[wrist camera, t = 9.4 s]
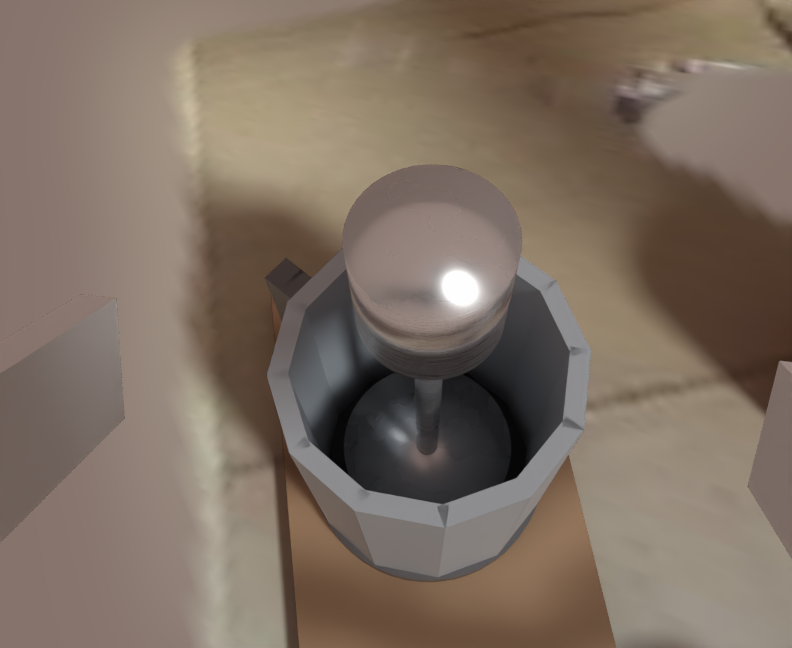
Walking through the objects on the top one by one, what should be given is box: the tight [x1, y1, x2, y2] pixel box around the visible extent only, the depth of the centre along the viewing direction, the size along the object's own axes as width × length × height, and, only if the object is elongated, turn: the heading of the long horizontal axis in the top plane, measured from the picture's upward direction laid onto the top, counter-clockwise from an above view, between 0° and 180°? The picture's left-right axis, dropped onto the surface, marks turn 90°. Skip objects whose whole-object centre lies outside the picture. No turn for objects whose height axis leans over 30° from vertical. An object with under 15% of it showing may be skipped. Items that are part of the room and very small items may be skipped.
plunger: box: [342, 165, 522, 504], centre depth 27 cm, size 8×8×18 cm
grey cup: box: [265, 248, 591, 582], centre depth 32 cm, size 11×14×13 cm
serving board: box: [271, 295, 616, 648], centre depth 38 cm, size 22×14×1 cm, turn 8°
